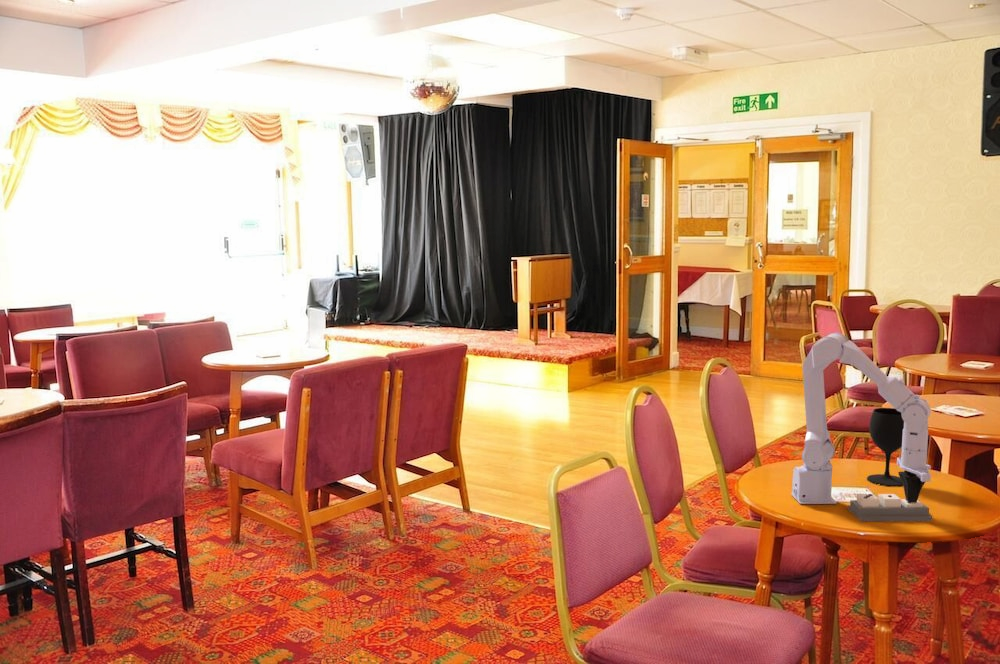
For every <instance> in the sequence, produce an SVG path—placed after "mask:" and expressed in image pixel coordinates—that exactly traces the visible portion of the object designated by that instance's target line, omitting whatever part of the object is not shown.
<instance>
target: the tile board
mask: <svg viewBox="0 0 1000 664" xmlns="http://www.w3.org/2000/svg"><path fill="white" fill-rule="evenodd" d="M856 501H857V499H855V500H854V499H853V500H852V499H851V500H850V503H849V504H848V505H847V510H848V511H849V512H851V514H852V515H854V516H855V517H856V518H857V519H858V520H859V521H860V522H932V519H933V516H932V517H930V516H929V513H930V508H929V507H928V506H927V505H925V504H924V503H923V502H922V501H920V500H919V502H920V503H922V504H923V507H905V506H903V505H902V504H901V507H883V506H882V505H880V504H879V507H861V506H860V505H858V504H857V503H856ZM931 518H932V519H931Z"/></svg>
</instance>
